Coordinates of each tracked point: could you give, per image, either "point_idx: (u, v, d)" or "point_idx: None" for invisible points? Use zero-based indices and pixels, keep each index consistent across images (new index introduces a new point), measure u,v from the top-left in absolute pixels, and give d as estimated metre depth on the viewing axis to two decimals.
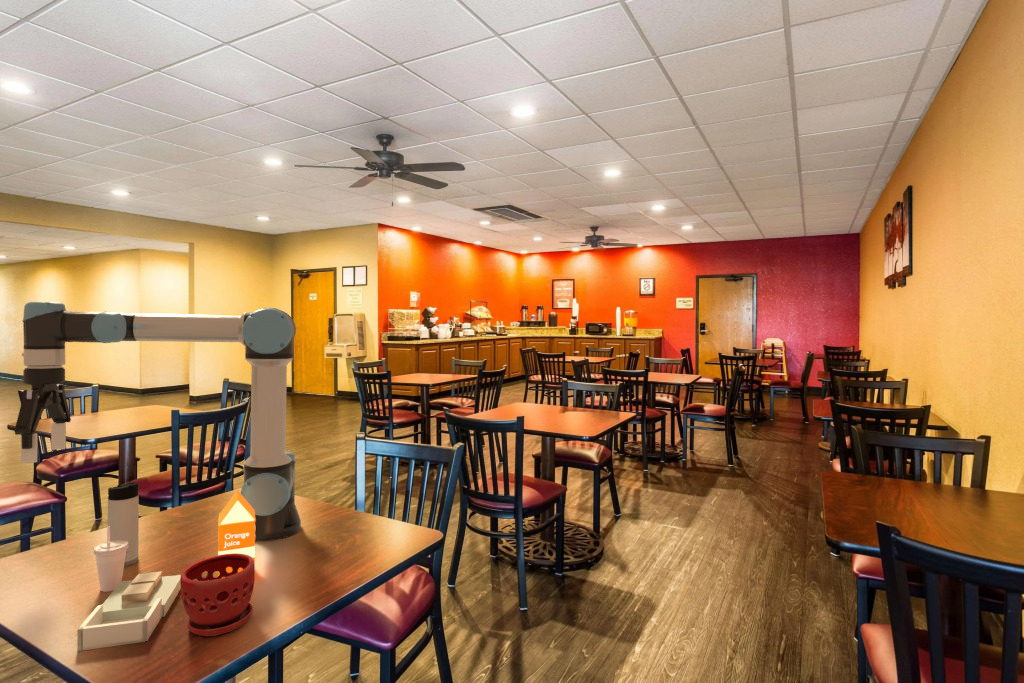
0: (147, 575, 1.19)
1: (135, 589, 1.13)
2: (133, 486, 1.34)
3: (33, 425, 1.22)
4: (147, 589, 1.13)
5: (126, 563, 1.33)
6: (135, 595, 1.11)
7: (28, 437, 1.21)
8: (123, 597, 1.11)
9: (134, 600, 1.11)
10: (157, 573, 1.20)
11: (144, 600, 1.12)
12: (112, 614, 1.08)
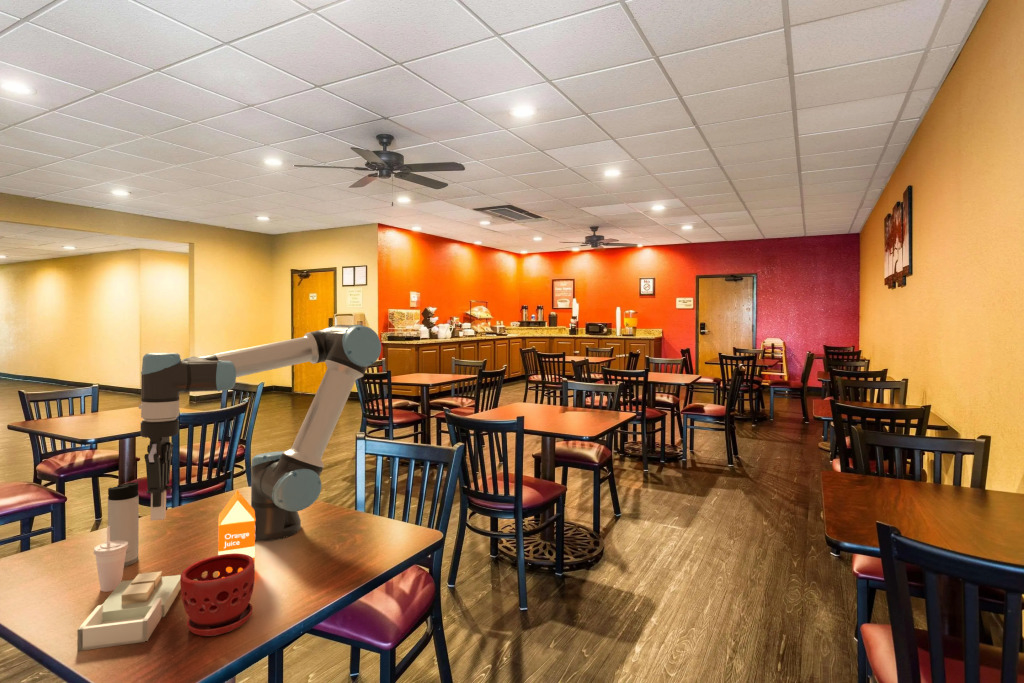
0: (147, 575, 1.19)
1: (135, 589, 1.13)
2: (133, 486, 1.34)
3: (161, 485, 1.25)
4: (147, 589, 1.13)
5: (126, 563, 1.33)
6: (135, 595, 1.11)
7: (158, 496, 1.25)
8: (123, 597, 1.11)
9: (134, 600, 1.11)
10: (157, 573, 1.20)
11: (144, 600, 1.12)
12: (112, 614, 1.08)
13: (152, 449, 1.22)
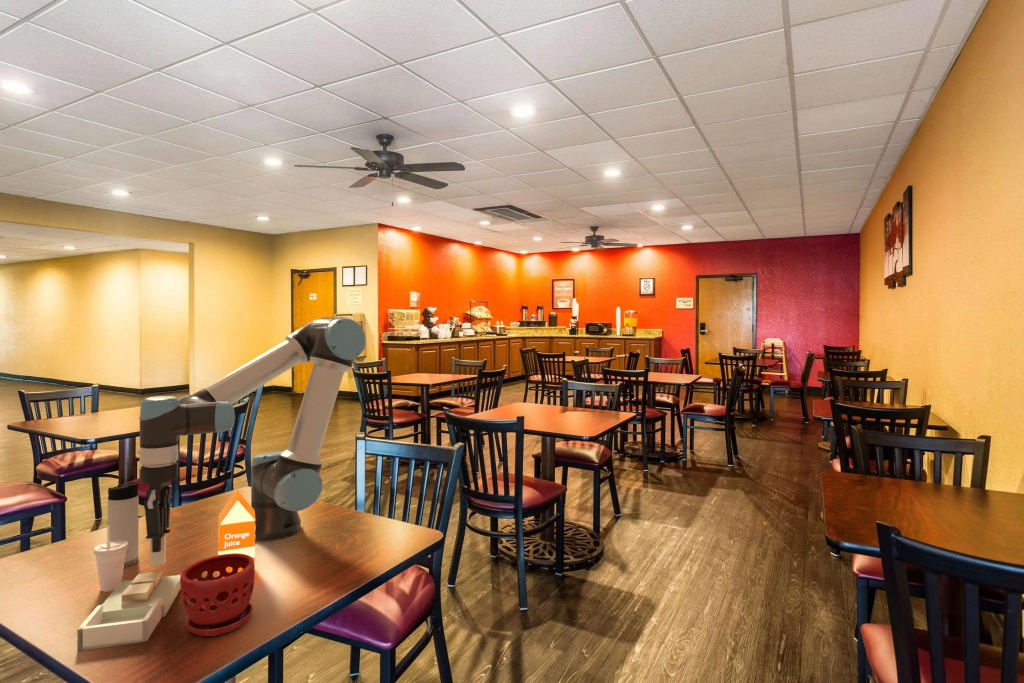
0: (147, 575, 1.19)
1: (135, 589, 1.13)
2: (133, 486, 1.34)
3: (161, 530, 1.25)
4: (147, 589, 1.13)
5: (126, 563, 1.33)
6: (135, 595, 1.11)
7: (158, 541, 1.25)
8: (123, 597, 1.11)
9: (134, 600, 1.11)
10: (157, 573, 1.20)
11: (144, 600, 1.12)
12: (112, 614, 1.08)
13: (151, 495, 1.22)
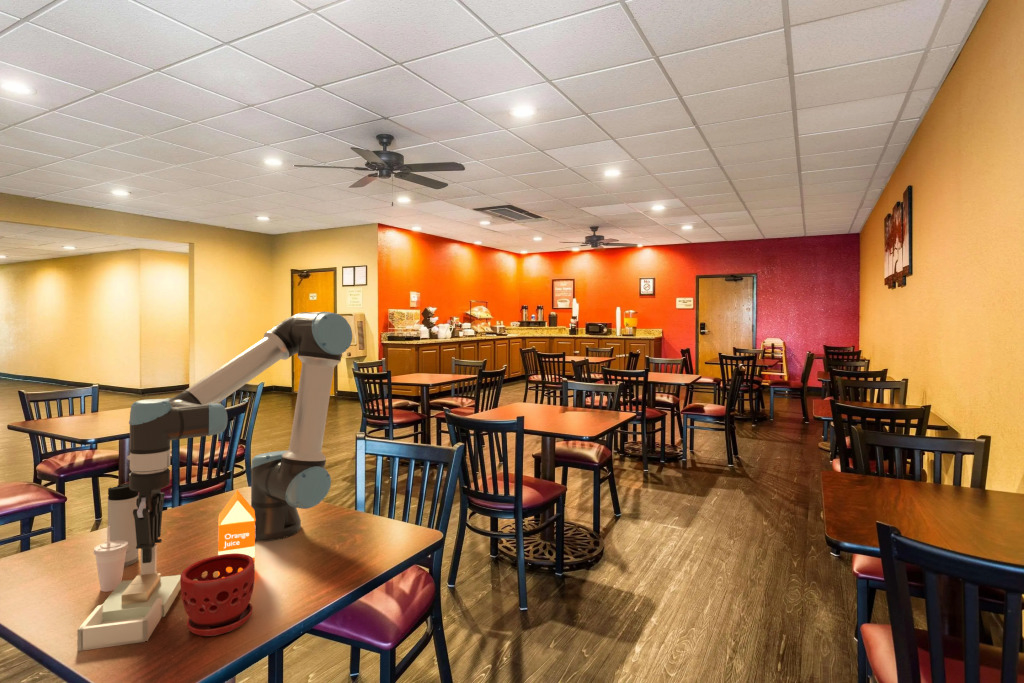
0: (146, 577, 1.18)
1: (135, 589, 1.13)
2: None
3: (151, 540, 1.19)
4: (147, 589, 1.13)
5: (126, 563, 1.33)
6: (135, 595, 1.11)
7: (148, 551, 1.19)
8: (123, 597, 1.11)
9: (134, 600, 1.11)
10: (156, 574, 1.20)
11: (144, 600, 1.12)
12: (112, 614, 1.08)
13: (141, 503, 1.16)
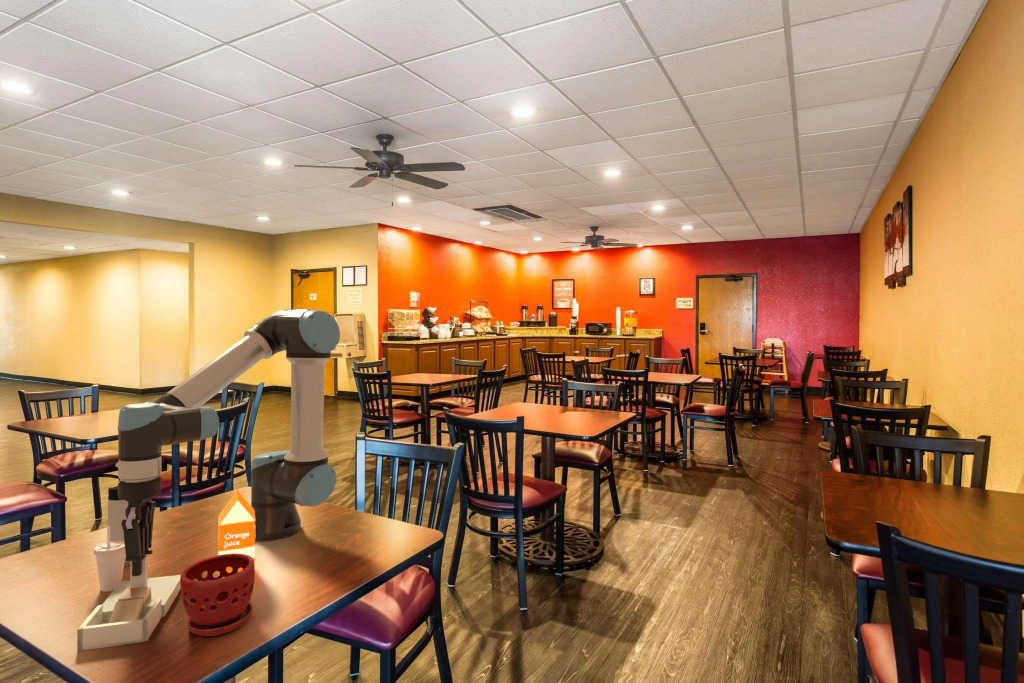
0: (136, 591, 1.12)
1: (122, 611, 1.06)
2: None
3: (141, 551, 1.13)
4: (135, 613, 1.06)
5: (126, 563, 1.33)
6: None
7: (138, 563, 1.12)
8: None
9: None
10: (146, 588, 1.13)
11: None
12: None
13: (130, 514, 1.09)
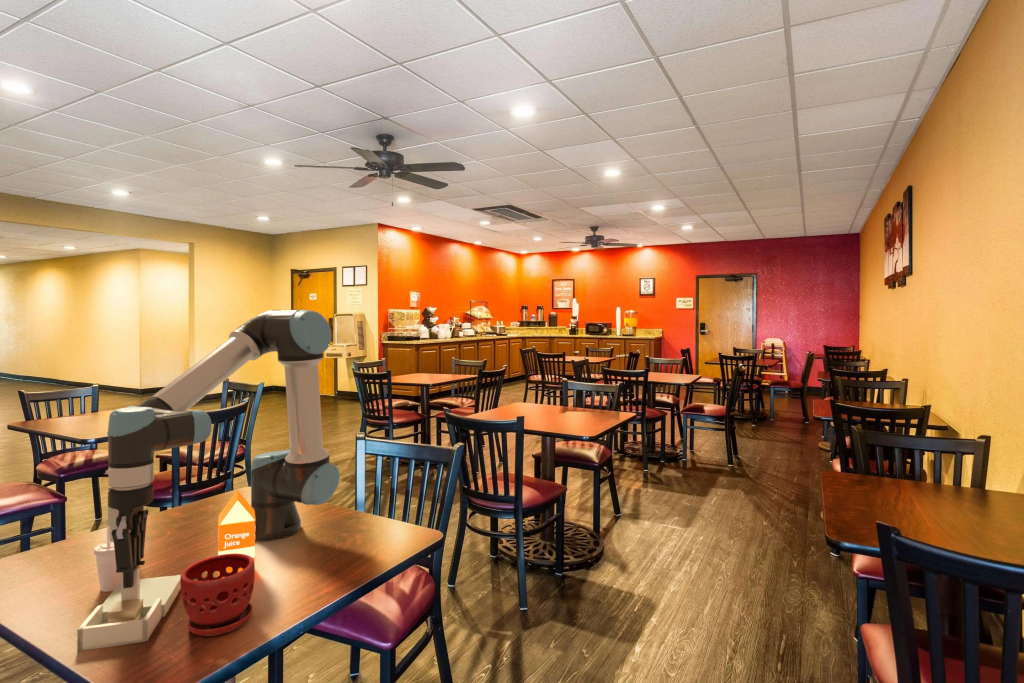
0: (127, 603, 1.07)
1: None
2: None
3: (133, 562, 1.08)
4: (132, 620, 1.05)
5: None
6: None
7: (130, 575, 1.08)
8: None
9: None
10: (137, 600, 1.08)
11: None
12: None
13: (121, 523, 1.05)
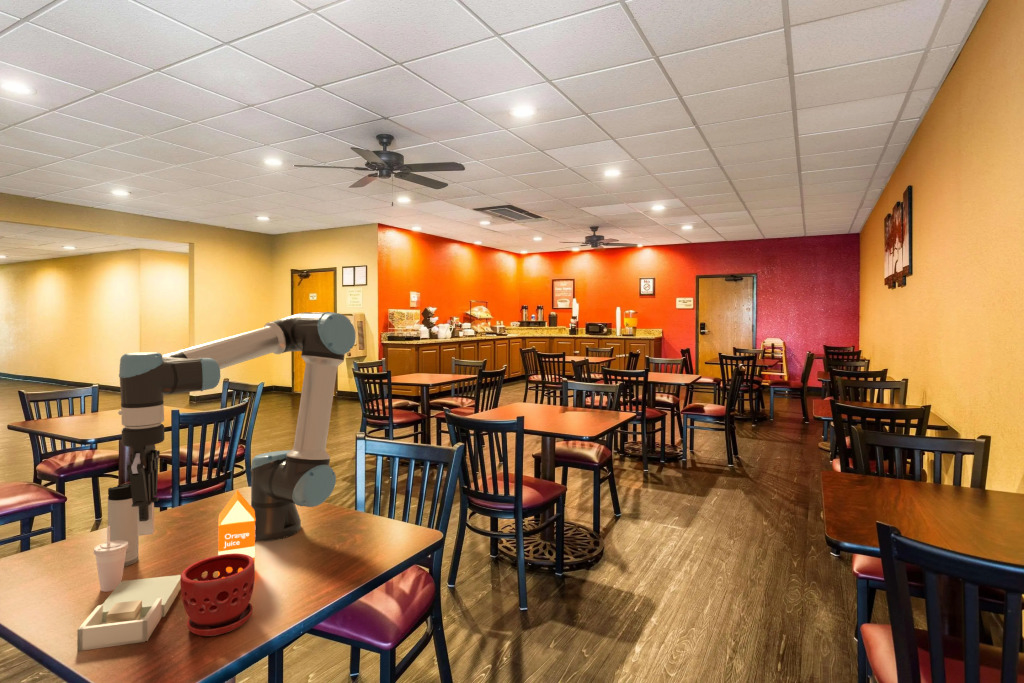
0: (125, 605, 1.06)
1: None
2: None
3: (148, 497, 1.14)
4: None
5: (126, 563, 1.33)
6: None
7: (145, 509, 1.14)
8: None
9: None
10: (136, 602, 1.08)
11: None
12: None
13: (135, 459, 1.11)
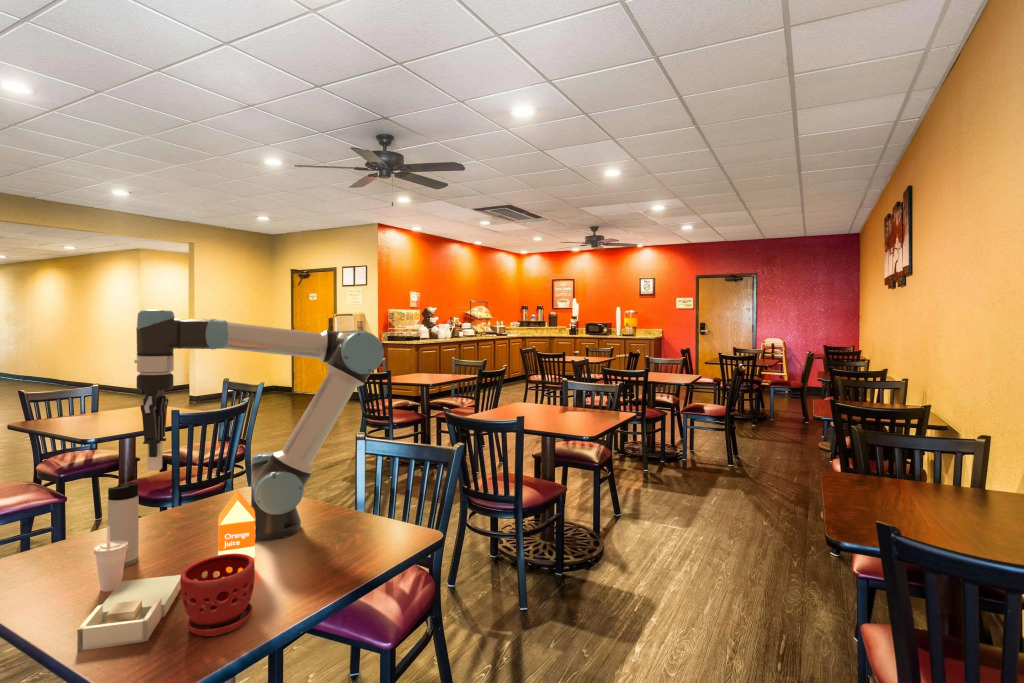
0: (125, 605, 1.06)
1: None
2: (133, 486, 1.34)
3: (157, 436, 1.31)
4: None
5: (126, 563, 1.33)
6: None
7: (155, 446, 1.30)
8: None
9: None
10: (136, 602, 1.08)
11: None
12: None
13: (148, 401, 1.27)
